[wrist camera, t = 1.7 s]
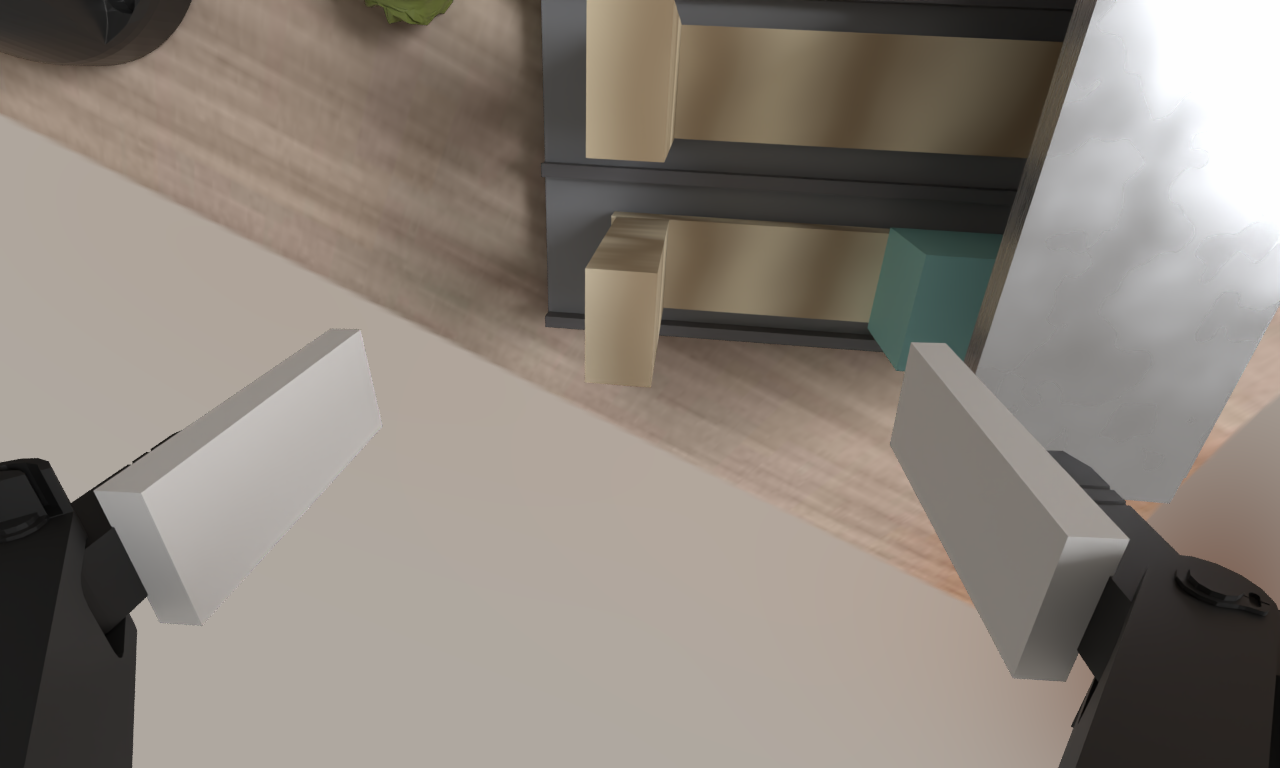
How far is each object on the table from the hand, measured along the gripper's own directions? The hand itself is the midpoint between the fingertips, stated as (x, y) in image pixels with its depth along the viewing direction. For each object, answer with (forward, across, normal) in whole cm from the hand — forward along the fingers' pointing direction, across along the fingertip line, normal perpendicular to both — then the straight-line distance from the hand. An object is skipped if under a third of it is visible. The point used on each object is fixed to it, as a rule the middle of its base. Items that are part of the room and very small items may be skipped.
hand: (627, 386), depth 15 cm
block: (+16, +13, -2) cm, 21 cm away
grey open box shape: (+19, +16, +2) cm, 25 cm away
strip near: (+17, +8, +6) cm, 20 cm away
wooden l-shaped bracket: (+17, +7, -2) cm, 19 cm away
